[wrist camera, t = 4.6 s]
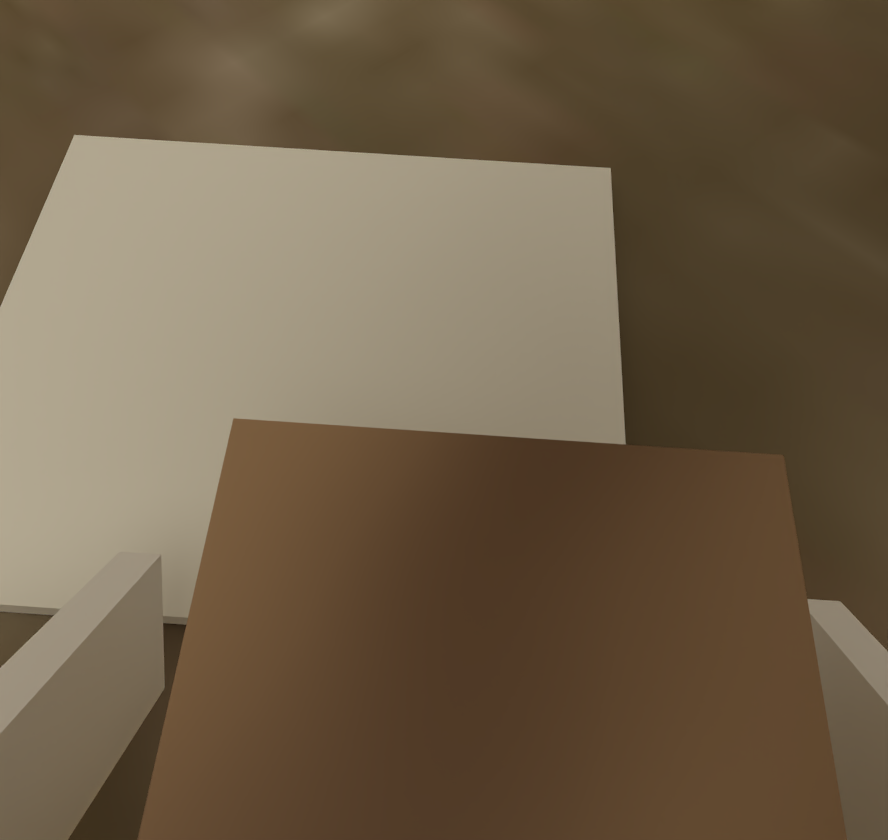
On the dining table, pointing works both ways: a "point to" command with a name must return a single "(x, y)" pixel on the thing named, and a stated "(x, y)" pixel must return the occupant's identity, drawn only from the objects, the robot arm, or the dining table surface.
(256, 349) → the felt mat
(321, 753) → the oak block
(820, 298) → the dining table surface
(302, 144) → the dining table surface
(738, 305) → the dining table surface
